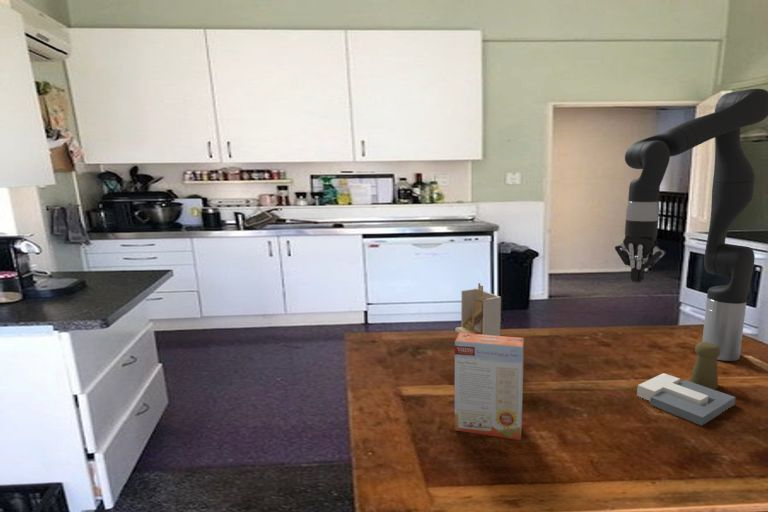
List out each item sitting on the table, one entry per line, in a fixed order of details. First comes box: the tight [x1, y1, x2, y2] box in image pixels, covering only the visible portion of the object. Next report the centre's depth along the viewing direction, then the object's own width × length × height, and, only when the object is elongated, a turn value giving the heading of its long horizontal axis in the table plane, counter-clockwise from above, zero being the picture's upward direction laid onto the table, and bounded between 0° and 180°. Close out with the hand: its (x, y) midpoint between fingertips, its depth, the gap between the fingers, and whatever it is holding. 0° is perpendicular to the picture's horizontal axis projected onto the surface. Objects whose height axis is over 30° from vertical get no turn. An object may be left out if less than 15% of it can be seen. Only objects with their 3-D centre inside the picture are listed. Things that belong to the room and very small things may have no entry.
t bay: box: [649, 379, 736, 427], centre depth 106 cm, size 11×16×2 cm
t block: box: [636, 372, 708, 407], centre depth 109 cm, size 12×12×3 cm
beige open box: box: [455, 282, 502, 336], centre depth 130 cm, size 8×12×26 cm
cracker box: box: [454, 332, 525, 441], centre depth 97 cm, size 14×6×21 cm, turn 71°
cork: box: [689, 341, 720, 390], centre depth 116 cm, size 6×6×11 cm
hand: (636, 281), depth 123 cm, fingers closed
